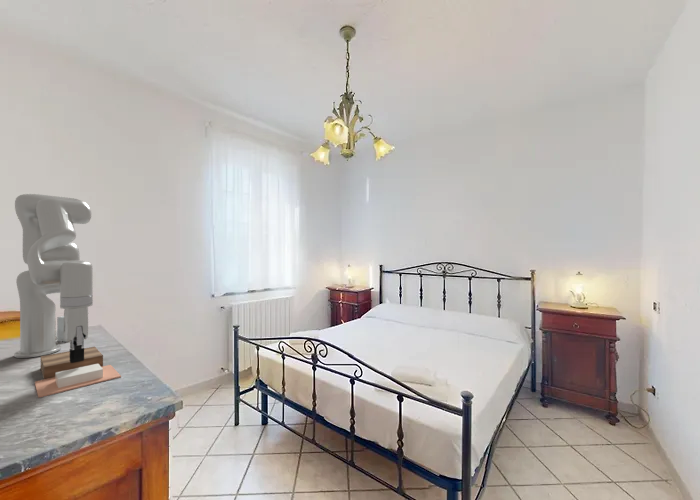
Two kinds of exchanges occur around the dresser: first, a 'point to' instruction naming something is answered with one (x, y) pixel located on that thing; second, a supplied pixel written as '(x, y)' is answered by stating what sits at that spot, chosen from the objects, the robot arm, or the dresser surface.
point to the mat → (51, 387)
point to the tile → (78, 375)
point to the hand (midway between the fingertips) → (76, 361)
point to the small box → (60, 329)
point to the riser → (68, 362)
